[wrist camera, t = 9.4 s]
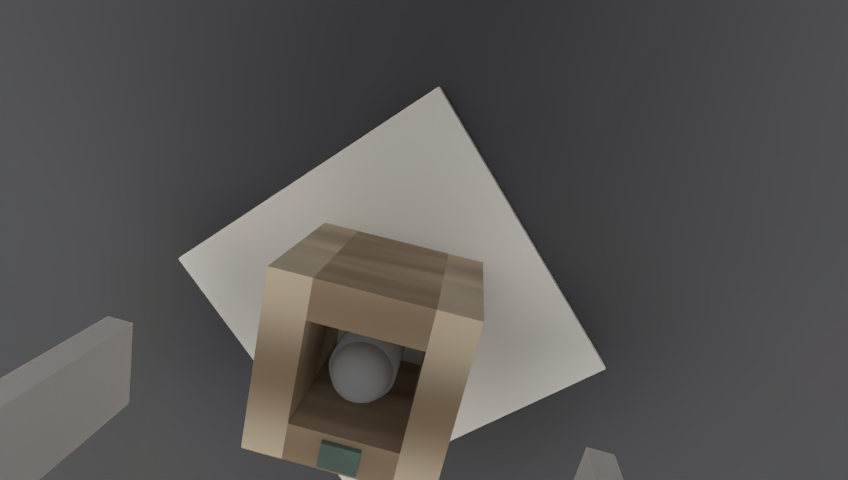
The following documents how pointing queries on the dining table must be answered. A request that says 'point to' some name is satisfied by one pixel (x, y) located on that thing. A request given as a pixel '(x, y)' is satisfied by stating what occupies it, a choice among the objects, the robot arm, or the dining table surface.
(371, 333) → the wooden hollow block
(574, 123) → the dining table surface
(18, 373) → the robot arm
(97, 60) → the dining table surface
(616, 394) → the dining table surface
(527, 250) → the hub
